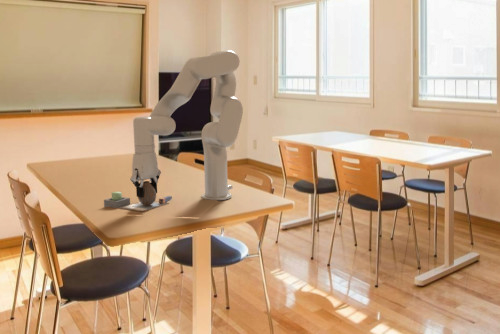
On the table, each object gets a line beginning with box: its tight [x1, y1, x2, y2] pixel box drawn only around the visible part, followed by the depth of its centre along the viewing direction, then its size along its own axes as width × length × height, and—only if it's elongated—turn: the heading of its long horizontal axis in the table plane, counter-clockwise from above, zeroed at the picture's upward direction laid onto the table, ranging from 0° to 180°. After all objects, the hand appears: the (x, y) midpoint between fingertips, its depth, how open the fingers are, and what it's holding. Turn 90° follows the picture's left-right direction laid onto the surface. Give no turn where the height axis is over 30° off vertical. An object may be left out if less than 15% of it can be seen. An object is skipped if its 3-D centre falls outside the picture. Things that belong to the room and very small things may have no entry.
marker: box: [158, 195, 173, 203], centre depth 202 cm, size 10×2×2 cm, turn 169°
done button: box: [111, 191, 123, 201], centre depth 196 cm, size 4×4×4 cm
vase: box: [137, 180, 157, 205], centre depth 194 cm, size 7×7×9 cm
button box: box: [103, 196, 131, 209], centre depth 197 cm, size 7×7×3 cm
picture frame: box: [118, 200, 169, 213], centre depth 195 cm, size 15×12×1 cm
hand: (147, 194), depth 194 cm, fingers closed on vase, 6 cm apart
